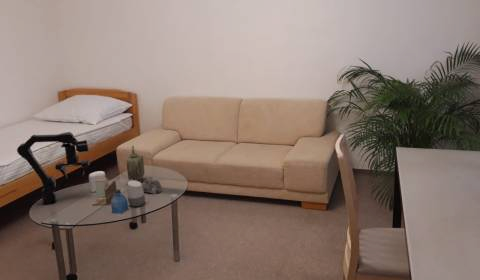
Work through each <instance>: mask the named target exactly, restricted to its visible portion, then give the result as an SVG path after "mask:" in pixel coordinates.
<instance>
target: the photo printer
mask: <svg viewBox="0 0 480 280" xmlns="http://www.w3.org/2000/svg"><path fill="white" fill-rule="evenodd" d="M105 173H106V172H105V171H102V170H100V171H99V170H98V171H94V172H91V173H89V174H88V181H89V188H90V189H89V190H90V192H91V193H95V192H96V185H95V181H96V180H97V179H98V178H107V177H106V174H105Z"/></svg>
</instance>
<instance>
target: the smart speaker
mask: <svg viewBox="0 0 480 280" xmlns="http://www.w3.org/2000/svg"><path fill="white" fill-rule="evenodd" d="M127 202H128V205H129V206H131V207H133V208H134V207H135V208H136V207H141V206H142V205H144V204H145V202H146V197H145V192H144V191H143V188H142V182H139V181H138V180H133V179H132V180H129V181H128V182H127Z"/></svg>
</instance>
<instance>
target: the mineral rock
mask: <svg viewBox="0 0 480 280" xmlns="http://www.w3.org/2000/svg"><path fill="white" fill-rule="evenodd" d="M141 184H142V188H143V192H144V193H150V194H154V195H155V194H156V195H157V194H159V193H161V192H162V191H163V189H162V185H161V183H160V181H159V180H158V179H157V178H155V177H153V176H149V177H148V178H146V179H145V180H144V181H143V182H141Z"/></svg>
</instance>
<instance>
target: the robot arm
mask: <svg viewBox="0 0 480 280" xmlns="http://www.w3.org/2000/svg"><path fill="white" fill-rule="evenodd" d="M53 142H54V143H55V142H57V143H62V144H61V146H60V148H64V150H65V151H64V152H65V160H66V163H65V162H63V161H62V162H57V163H56V164H55V166H54V167H55V170H57V171H58V172H60V173H61V174H62V175H63V176H64V178H65V179H66V180H67V179H68V175H67V174H68V173H67V171H66V168H67V167H75V166H81V167H80V171H81V177H82V178H84V175H85V169H86V168H87V167H89V165H90V160H89V159H82V160H81V161H80V158H79V157H80V156H78V155H77V152H78V153H83V152H89V143H88V141H87V139H84V140H77V138H76V137H74V134H73V133H72V132H70V131H67V132H62V133H58V134H33V135H30V137H29V138H28V139H27V140H26V141H25V142H23V143H21V144H19V146H18V147H17V149H16V152H17V154H18V155H19V156H20V157H21V158H23V159H24V160H26V161H27V163H28V164H29V166H30V167H31V168H32V169H33V171H34V172H35V173H36V175H37V176H38V177H39V179H40V180H41V183H42V186H43V188H42V191H41V192H40V193H41V197H42V205H43V204H45V205H50V204H49V203H54V204H55V203H56V201H57V195H56V193H55V189H56V186H57V182H56V181H57V180H56V179H55V178H54V176H53V175H50V176H49V175H48V174H47V172H46V171H45V169H44V168H43V167H42V165H41V164H40V163H39V161H38V160H37V159H36V157H35V155H34V154H33V150H32V149H31V147H32V146H34V145H35V143H53Z"/></svg>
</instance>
